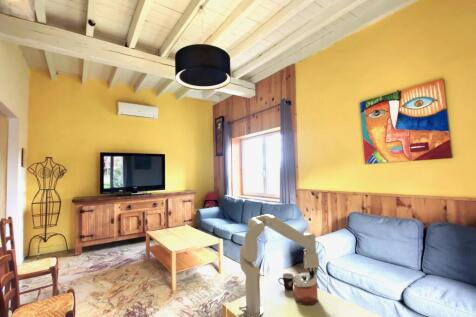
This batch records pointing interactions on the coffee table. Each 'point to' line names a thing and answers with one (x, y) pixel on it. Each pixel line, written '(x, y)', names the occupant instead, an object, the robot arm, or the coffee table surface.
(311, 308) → the coffee table surface
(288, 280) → the coffee mug
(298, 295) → the red-brown rounded block
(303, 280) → the cooker lid
